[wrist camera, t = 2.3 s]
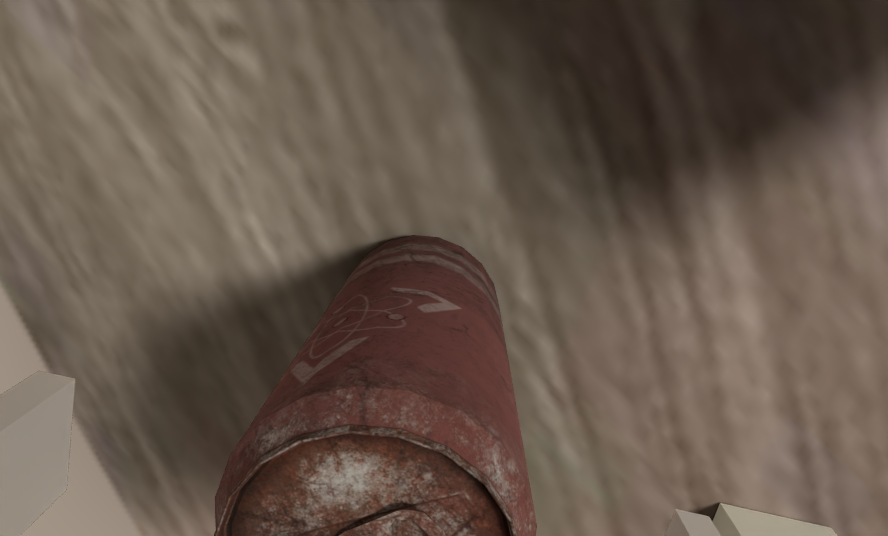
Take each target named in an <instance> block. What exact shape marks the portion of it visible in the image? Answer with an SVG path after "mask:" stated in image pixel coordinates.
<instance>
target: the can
mask: <svg viewBox="0 0 888 536" xmlns="http://www.w3.org/2000/svg"><path fill="white" fill-rule="evenodd" d="M215 518H216V531H215V534H214V536H536V529H537V524H536V518H535V512H534V506H533V500H532V495H531V489H530V483H529V477H528V471H527V466H526V460H525V454H524V448H523V442H522V437H521V431H520V425H519V419H518V413H517V408H516V402H515V396H514V390H513V384H512V379H511V373H510V367H509V361H508V355H507V350H506V344H505V338H504V332H503V326H502V321H501V315H500V309H499V304H498V300H497V295H496V291H495V287H494V283H493V282H492V280H491V278H490V277H489V275H488V274H487V272H486V270H485V269H484V267H483V265H482V264H481V263H480V262H479V261H478V260H477V259H475V258H474V257H473V256H472V255H471V254H470V253H468V252H467V251H466V250H465V249H464V248H462V247H460V246H458V245H456V244H453V243H451V242H448V241H446V240H443V239H441V238H439V237H427V236H415V235H412V236H408V237H404V238H399V239H395V240H391V241H388V242H386V243H384V244H383V245H381V246H379V247H378V248H376V249H374V250H373V251H371V252H369V253H368V254H367V255H366V256H365V257H364V258H363V259H362V261H361V262H360V263H359V264H358V265H357V267H356V268H355V269H354V270H353V271H352V273H351V274H350V276H349V277H348V279H347V280H346V282H345V283H344V285H343V286H342V288H341V289H340V291H339V292H338V294H337V295H336V297H335V298H334V300H333V301H332V303H331V304H330V306H329V307H328V309H327V310H326V312H325V313H324V315H323V316H322V318H321V319H320V321H319V322H318V324H317V325H316V327H315V328H314V330H313V332H312V333H311V335H310V336H309V338H308V339H307V341H306V342H305V344H304V345H303V347H302V348H301V350H300V351H299V353H298V354H297V356H296V357H295V359H294V360H293V362H292V363H291V365H290V366H289V368H288V369H287V371H286V372H285V374H284V375H283V377H282V378H281V380H280V381H279V383H278V384H277V386H276V387H275V389H274V390H273V392H272V393H271V395H270V396H269V398H268V399H267V401H266V402H265V404H264V405H263V407H262V409H261V410H260V412H259V413H258V415H257V416H256V418H255V419H254V421H253V422H252V424H251V425H250V427H249V428H248V430H247V431H246V433H245V434H244V436H243V437H242V439H241V440H240V442H239V443H238V445H237V446H236V448H235V449H234V451H233V452H232V454H231V455H230V457H229V460H228V463H227V465H226V468H225V471H224V474H223V477H222V479H221V482H220V485H219V488H218V490H217V493H216V496H215Z"/></svg>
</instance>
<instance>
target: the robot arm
mask: <svg viewBox="0 0 888 536" xmlns="http://www.w3.org/2000/svg"><path fill="white" fill-rule="evenodd" d="M74 390H75V378H70V377H65V376H61V375H56V374H52V373H47V372H42V371H38V372H36V373H34V374H33V375H31V376H30V377H28V378H26V379H25V380H23V381H22V382H20V383H18V384H17V385H15V386H14V387H12V388H11V389H9V390H7V391H6V392H4V393H3V394H1V395H0V536H20V535H21V534H22V533H23V532H24V531H25V530H26V529H27V528H28V527H29V526H30V525H31V524H32V523H33V522H34V521H35V520H36V519H37V518H38V517H39V516H40V515H41V514H43V513H44V512H45V511H46V510H47V509H48V508H49V507H50V506H51V505H52V504H53V503H54V502H55V501H56V500H57V499H58V498H59V497H60V496H61V495H62V494H63V493H64V492H65V491H66V490H67V480H68V468H69V454H70V441H71V429H72V416H73V403H74ZM665 536H721V535H720V533H719V532H718V530H717V529H716V527H715V525H714V524H713V522H712V521H711V519H710V517H709V516H705V515H701V514H696V513H692V512H687V511H682V510H678V509H675V511H674V514H673V516H672V519H671V521H670V524H669V527H668V529H667V532H666V534H665Z"/></svg>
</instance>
